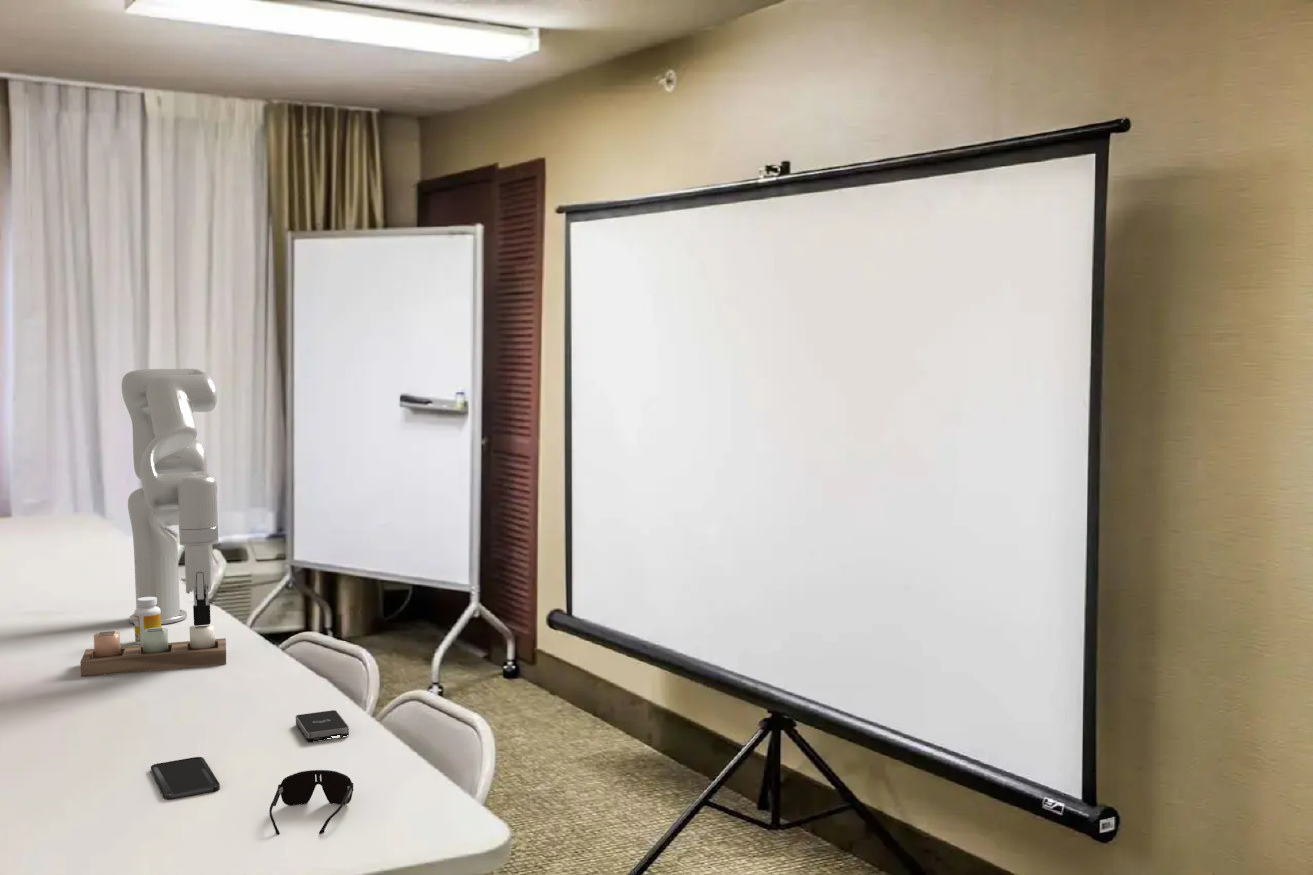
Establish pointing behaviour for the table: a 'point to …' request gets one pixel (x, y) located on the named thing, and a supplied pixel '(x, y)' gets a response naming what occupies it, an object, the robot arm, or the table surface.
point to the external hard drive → (321, 725)
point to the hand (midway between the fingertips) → (202, 624)
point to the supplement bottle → (146, 616)
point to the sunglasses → (303, 785)
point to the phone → (184, 778)
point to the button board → (153, 659)
